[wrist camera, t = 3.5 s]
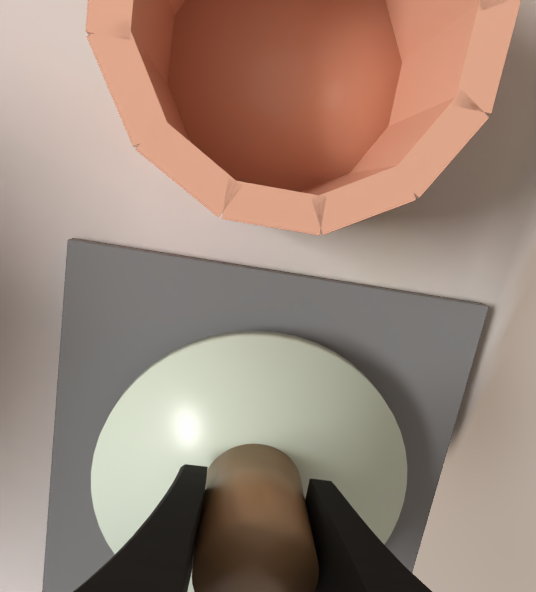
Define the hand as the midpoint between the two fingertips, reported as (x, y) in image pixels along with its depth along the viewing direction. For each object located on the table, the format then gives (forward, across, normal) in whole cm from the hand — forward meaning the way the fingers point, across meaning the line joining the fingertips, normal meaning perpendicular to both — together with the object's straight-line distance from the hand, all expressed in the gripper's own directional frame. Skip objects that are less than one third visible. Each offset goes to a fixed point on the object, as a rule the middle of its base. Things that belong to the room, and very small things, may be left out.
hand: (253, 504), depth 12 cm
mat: (+2, 0, 0) cm, 2 cm away
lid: (+1, 0, 0) cm, 1 cm away
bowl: (+2, +1, -11) cm, 11 cm away
